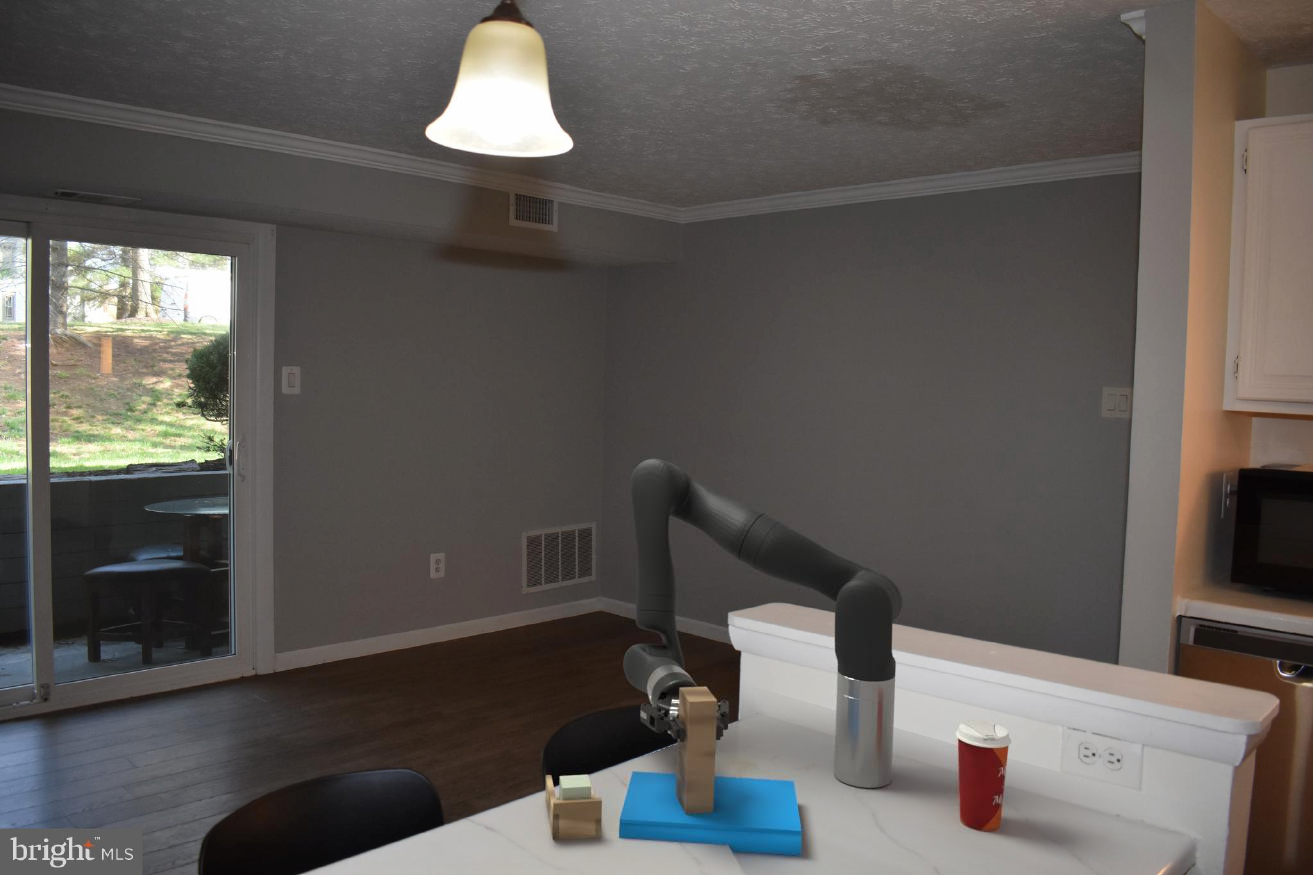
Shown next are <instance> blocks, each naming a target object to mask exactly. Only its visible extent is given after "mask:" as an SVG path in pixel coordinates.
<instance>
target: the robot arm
mask: <svg viewBox="0 0 1313 875" xmlns="http://www.w3.org/2000/svg"><path fill="white" fill-rule="evenodd" d="M629 483H630V485H629V486H630V487H629V488H630V489H629V490H630V496H631V497H630V498H631V504H632V505H631V506H632V514H633V522H634V532H635V533H634V534H635V545H636V546H635V547H636V595H635V597H636V598H635V624H636V626H637V627H638V628H640V629H642V630H646V631H651V632H654V633H657V634H659V635H660V637H661V639H662V644H661V643H637V644H633V645H632V646H630V647H629V648H628V649H627V650H626V652H625V653H624V656H623V660H622V661H623V663H622V665H623V672H624V675H625V678H626V680H627V681H628V682H629V683H630V684H631V685H632V687H633V688H635V689H637V690H639V691H641V692H643V693H644V694H647V695H648V699H649V702H650V704H649V703H645V702H644V703H641V704H640V722H641V723H643V725H646V726H647V728H649V729H651V731H653V732H654V733H657V734H662V733H664V731H667V733H668V734H670V735H671V736H672V738H673V739H674V740H677V742H678V741H679V742H684V740H685V728H684V725H683V724H682V722H681V721H680V719H679V718H678V717H679V689H680V688H683V687H699V686H698V685H697V683H696V682H695V681H694V679H693V678H692V677H691V676H690V674H689V673H688V672H686V671H685V661H684V660H685V659H684V656H683V651H682V648H681V643H680V640H679V635H678V630H677V621H676V611H677V610H676V604H677V602H676V601H677V600H676V597H677V582H676V574H675V573H676V572H675V567H674V564H673V563H674V562H673V557H672V551H671V546H670V534H669V532H670V531H669V529H670V528H669V525H670V523H669V522H670V516H671V517H672V518H676V519H678V520H680V521H683V522H685V523H687V524H689V525H690V526H693V527H695V528H697V529H698V530H700V531H702V532H703V533H704V534H706V535H707V537H709V538H710V539H711V540H712V541H714V543H715V544H717V545H718V546H719V547H721V548H722V549H723V550H724V551H726V552H727V553H728V554H729V555H731V556H732V557H733V558H735V559H737V560H738V561H741V562H742V563H744V564H746V565H747V566H749V567H751V568H752V569H754V570H756V571H758V572H760V573H762V574H765V575H766V576H770V577H772V578H775V579H778V580H781V581H784V582H788V583H791V584H794V585H795V584H796V585H799V586H802V587H804V588H805V587H806V588H808V589H810V590H813V591H815V592H818V593H819V594H821V595H823V596H825V597H826V598H828V599H830V600H831V601H833V602H834V603H835V608H834V653H835V657H836V660H837V677H836V678H837V679H836V682H837V683H836V705H835V706H836V708H835V730H834V731H835V732H834V733H835V736H834V738H835V739H834V761H833V763H834V764H833V775H834V777H835V778H836V779H837V780H839V781H840V782H841V783H845V784H847V785H850V786H853V787H858V788H865V789H867V788H868V789H871V788H872V789H873V788H874V789H875V788H881V787H882V788H883V787H885V786H887V785H889V784H890V783H891V782H892V774H893V773H892V772H893V771H892V770H893V768H892V767H893V752H894V750H893V748H894V745H893V744H894V724H895V723H894V722H895V698H896V696H895V693H896V690H895V689H896V672H897V671H896V669H897V668H896V667H897V664H896V663H897V662H896V659H895V657H894V655H893V623H894V621H895V620H896V619H898V617H899V615H900V614H901V611H902V610H903V602H904V601H903V594H902V593H901V591H900V588H899V587H898V585H897V584H896V583H895V582H894V581H893V580H892V579H891V578H890V577H888V575H885V574H883V573H881V572H879V571H876V570H874V569H871V568H869V567H866V566H864V565H861V564H859V563H857V562H854V561H851V560H849V559H847V558H844V557H843V556H841V555H839V554H836V553H835V552H832V551H830V550H828V549H827V548H826V547H824V546H822V545H820V544H819V543H817V542H816V541H815V540H812V539H811V538H809V537H807V536H806V535H804V534H802V533H800V532H799V531H797V530H795V529H793V528H792V527H790V526H788V525H786V524H785V523H783V522H781V520H780V521H779V520H778V519H776V518H773V517H772V516H770V515H768V514H766V513H764V512H763V511H760V510H759V509H756V508H754V507H752V506H750V505H747V504H745V503H743V502H740V501H737V500H735V499H732V498H729V497H727V496H724V495H722V494H721V493H720V494H719V493H718V492H716V491H714V490H713V489H711V488H709V487H708V486H706V485H705V484H703V483H702V482H701V481H699V480H698V479H696V478H695V477H694V476H692V475H691V474H689V473H688V472H687V471H685V470H684V469H682V468H681V467H679V466H678V465H676V464H674V463H671V462H668V461H666V460H663V459H659V458H649V459H645V460H643V461H642V462H640V463H639V464H638V465H637V466H636V467H635V468H634V470H633V471H632V475H631V476H630V482H629ZM729 707H730V706H729V700H726V699H723V700H722V699H721V700H720V702H717V722H716V741H721V738H722V737H723V736H724V731H725V730H728V729H729V716H730V715H729V712H730V710H729V709H730V708H729Z"/></svg>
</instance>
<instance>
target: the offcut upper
mask: <svg viewBox="0 0 1313 875" xmlns="http://www.w3.org/2000/svg"><path fill="white" fill-rule="evenodd" d="M589 779H590V778H589V774H574V775H573V774H572V775H560V776H559V792H558V794H559V796H558V797H559V798H560V800H566V799H582V798H591V786H592V783H590V782H591V780H589Z"/></svg>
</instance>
